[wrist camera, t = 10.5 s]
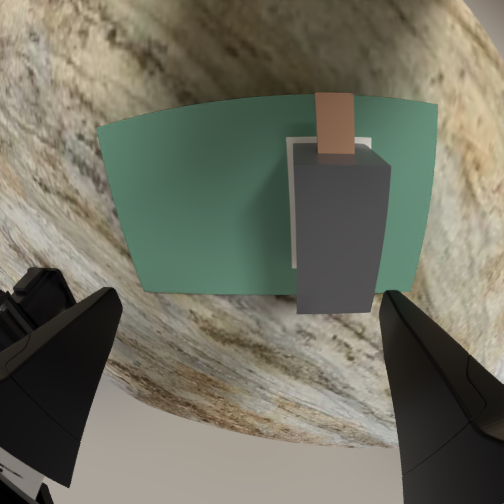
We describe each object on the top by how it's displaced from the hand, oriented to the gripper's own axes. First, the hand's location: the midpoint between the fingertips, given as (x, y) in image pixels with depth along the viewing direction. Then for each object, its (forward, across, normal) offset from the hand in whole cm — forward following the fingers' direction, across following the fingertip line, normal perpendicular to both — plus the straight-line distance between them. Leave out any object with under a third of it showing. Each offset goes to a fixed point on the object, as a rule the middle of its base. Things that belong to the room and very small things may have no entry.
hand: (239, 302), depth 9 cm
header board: (+12, 0, +1) cm, 12 cm away
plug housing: (+10, -4, 0) cm, 11 cm away
